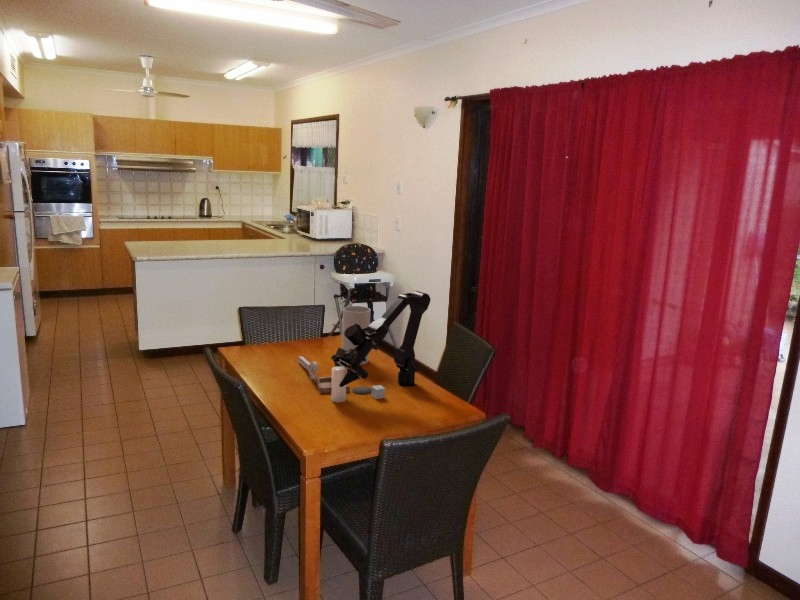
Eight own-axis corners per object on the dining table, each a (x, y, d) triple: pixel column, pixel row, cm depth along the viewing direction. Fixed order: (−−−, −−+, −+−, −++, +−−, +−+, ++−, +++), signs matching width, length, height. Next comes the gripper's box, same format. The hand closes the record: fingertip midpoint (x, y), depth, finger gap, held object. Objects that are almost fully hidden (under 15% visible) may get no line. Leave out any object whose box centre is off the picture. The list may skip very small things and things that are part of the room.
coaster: (371, 387, 237) (371, 386, 237) (372, 394, 229) (372, 393, 229) (352, 387, 236) (352, 386, 236) (352, 394, 228) (352, 393, 228)
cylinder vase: (373, 363, 267) (375, 310, 262) (349, 367, 260) (351, 313, 255) (359, 355, 277) (361, 305, 272) (336, 359, 270) (338, 307, 265)
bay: (344, 381, 243) (344, 376, 242) (349, 391, 231) (349, 386, 231) (315, 382, 239) (316, 377, 239) (319, 392, 228) (319, 387, 228)
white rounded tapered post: (345, 396, 226) (346, 366, 223) (345, 402, 220) (346, 371, 217) (331, 396, 225) (332, 366, 222) (330, 402, 219) (331, 371, 217)
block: (380, 394, 230) (381, 384, 229) (384, 398, 227) (385, 388, 226) (371, 395, 228) (371, 386, 228) (375, 399, 225) (375, 389, 224)
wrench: (302, 367, 264) (318, 382, 237) (298, 368, 264) (314, 382, 236) (301, 350, 264) (318, 363, 236) (297, 350, 263) (313, 363, 235)
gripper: (335, 334, 227) (310, 365, 223) (362, 346, 213) (336, 380, 208) (351, 350, 234) (327, 381, 229) (379, 363, 219) (354, 396, 215)
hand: (335, 384), depth 220 cm, fingers closed on white rounded tapered post, 6 cm apart
